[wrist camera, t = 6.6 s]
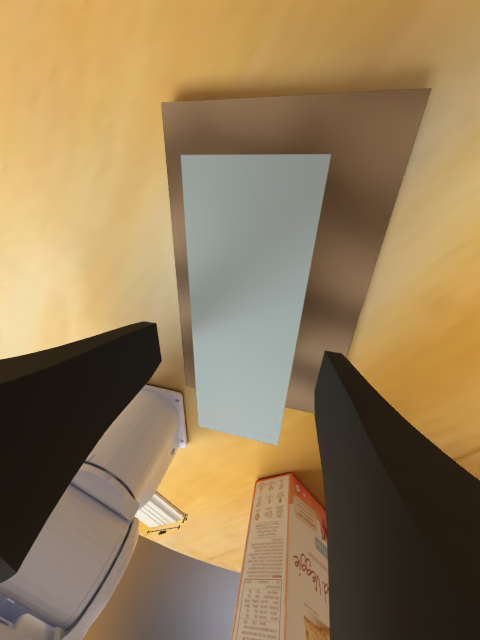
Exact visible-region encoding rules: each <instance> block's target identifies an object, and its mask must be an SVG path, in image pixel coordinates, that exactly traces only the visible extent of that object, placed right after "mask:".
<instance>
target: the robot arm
mask: <svg viewBox="0 0 480 640" xmlns="http://www.w3.org/2000/svg"><path fill="white" fill-rule="evenodd" d="M161 361H162V360H161V353H160V346H159V339H158V332H157V325H156V323H150V322H139V323H135V324H131V325H128V326H124V327H121V328H118V329H115V330H112V331H108V332H105V333H102V334H99V335H96V336H93V337H89V338H86V339H83V340H79V341H76V342H72V343H69V344H66V345H62V346H59V347H55V348H51V349H47V350H43V351H39V352H35V353H30V354H26V355H22V356H17V357H12V358H7V359H2V360H0V640H82V638H83V637H84V635H85V633H86V632H87V630H88V629H89V627H90V626H91V624H92V623H93V622H94V621H95V619H96V618H97V617H98V615H99V614H100V613H101V611H102V610H103V608H104V607H105V605H106V604H107V602H108V601H109V599H110V597H111V595H112V594H113V592H114V590H115V588H116V587H117V585H118V583H119V581H120V579H121V577H122V575H123V574H124V572H125V570H126V567H127V565H128V563H129V561H130V558H131V556H132V554H133V551H134V549H135V546H136V543H137V540H138V535H139V520H138V518H136V517H134V516H135V514H136V513H137V511H138V510H140V509H141V508H142V507H143V506H145V505H146V504H147V503H148V502H149V501H150V499H151V498H152V497H153V495H154V494H155V492H156V490H157V488H158V486H159V484H160V482H161V480H162V478H163V476H164V475H165V473H166V471H167V469H168V467H169V465H170V463H171V461H172V459H173V457H174V455H175V453H176V451H177V449H178V447H181V448H186V446H187V436H186V426H185V416H184V407H183V397H182V394H181V393H180V392H176V391H172V390H167V389H163V388H158V387H154V386H149V385H146V383H147V382H148V381H149V380H150V378H151V377H152V375H153V374H154V372H155V371H156V369H157V368H158V366H159V364H160V363H161ZM314 409H315V422H316V429H317V436H318V443H319V451H320V458H321V465H322V472H323V480H324V490H325V506H326V526H327V552H328V583H329V624H330V640H480V481H479V480H478V479H477V478H476V477H474V476H473V475H472V474H470V473H469V472H468V471H466V470H465V469H464V468H462V467H461V466H460V465H459V464H457V463H456V462H455V461H454V460H452V459H451V458H450V457H449V456H447V455H446V454H445V453H444V452H443V451H441V450H440V449H439V448H438V447H437V446H435V445H434V444H433V443H432V442H431V441H430V440H428V439H427V438H426V437H425V436H424V435H422V434H421V433H420V432H419V431H418V430H417V429H415V428H414V427H413V426H412V425H411V424H410V423H409V422H408V421H407V420H406V419H404V418H403V417H402V416H401V415H400V414H399V413H398V412H397V411H396V410H395V409H394V408H393V407H392V406H391V405H390V404H389V403H388V402H387V401H386V400H385V399H384V398H383V397H382V396H381V395H380V394H379V393H378V392H377V391H376V390H375V389H374V388H373V387H372V386H371V385H370V384H369V383H368V382H367V381H366V379H365V378H364V377H363V376H362V375H361V374H360V373H359V372H358V371H357V370H356V368H355V367H354V366H353V365H352V364H351V363H350V362H349V361H348V359H347V358H346V357H345V356H344V355H343V354H342V353H337V352H331V351H325V352H324V355H323V359H322V363H321V367H320V371H319V375H318V379H317V382H316V386H315V390H314Z"/></svg>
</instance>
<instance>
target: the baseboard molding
mask: <svg viewBox="0 0 480 640" xmlns="http://www.w3.org/2000/svg"><path fill="white" fill-rule="evenodd" d="M186 515H187V514H186ZM186 515H185V516H186ZM187 516H188V515H187ZM135 517H137V518H138V519H139V520H141V521H142V522H143V523H145V524H146V525H147V526H148V527H155V526H160V525H165V524H168V523H169V524H171V523H173V522H174V523H177V521H178V520H179V519H180V518H183V517H184V514H183V513H182V512H181V511H179V510H178V509H177V508H176V507H174V506H173V505H172V504H171V503H169V502H168V501H167V500H166V499H165V498H163V497H162V496H161V495H160V494H158V493H157V492H155V494H154V495H153V497H152V498H151V499H150V501H149V502H148V503H147V504H146V505H145V506H143V507H142V508H141V509H140V510H138V511H137V513H136V514H135ZM184 520H185V521H186V520H187V518H186V519H185V517H184ZM184 520H183V521H184ZM182 523H184V522H182ZM175 528H178V527H175ZM179 528H180V525H179ZM179 528H178V529H179ZM169 529H172V528H169ZM163 530H166V529H163ZM157 531H160V530H157ZM148 532H149V531H148ZM148 532H147V534H148ZM151 532H154V531H151ZM160 532H161V533H160ZM160 532H159V534H163V533H166V531H160Z"/></svg>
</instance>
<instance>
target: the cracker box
mask: <svg viewBox="0 0 480 640" xmlns="http://www.w3.org/2000/svg"><path fill="white" fill-rule="evenodd" d="M230 640H330V624H329V583H328V552H327V526H326V511H325V510H324V508H323V507H322V506H321V505H320V504H319V503H318V502H317V501H316V500H315V499H314V497H313V496H312V495H311V494H310V493H309V492H308V491H307V490H306V489H305V487H304V486H303V485H302V484H301V483H300V482H299V481H298V480H297V479H296V477H295V476H294V475H293V474H292V473H288V474H284V475H279V476H275V477H270V478H266V479H261V480H257V481H256V482H255V488H254V494H253V500H252V507H251V513H250V519H249V526H248V532H247V538H246V545H245V551H244V557H243V564H242V570H241V577H240V583H239V589H238V595H237V602H236V608H235V615H234V621H233V627H232V634H231V639H230Z"/></svg>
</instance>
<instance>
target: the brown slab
mask: <svg viewBox="0 0 480 640" xmlns="http://www.w3.org/2000/svg"><path fill="white" fill-rule="evenodd" d="M430 91H431V88H428V89H409V90H390V91H371V92H352V93H333V94H314V95H295V96H276V97H257V98H238V99H219V100H200V101H181V102H162V103H161V106H162V117H163V129H164V140H165V151H166V163H167V174H168V185H169V197H170V208H171V219H172V231H173V242H174V253H175V265H176V276H177V288H178V299H179V310H180V322H181V333H182V344H183V356H184V367H185V378H186V386H190V387H194V388H196V382H195V367H194V352H193V336H192V321H191V306H190V290H189V275H188V260H187V244H186V229H185V214H184V198H183V183H182V168H181V155H275V154H331V158H330V163H329V169H328V174H327V180H326V185H325V191H324V196H323V201H322V207H321V212H320V218H319V223H318V229H317V234H316V239H315V245H314V250H313V256H312V261H311V266H310V272H309V277H308V283H307V288H306V294H305V299H304V304H303V310H302V315H301V321H300V326H299V332H298V337H297V342H296V348H295V353H294V359H293V364H292V370H291V375H290V380H289V386H288V391H287V397H286V402H285V407H287V408H292V409H296V410H301V411H305V412H310V413H315V409H314V390H315V386H316V382H317V379H318V375H319V371H320V367H321V363H322V359H323V355H324V352H325V351H331V352H337V353H342V354H343V355H344V356H345V357H346V356H347V352H348V349H349V346H350V343H351V340H352V337H353V333H354V330H355V327H356V324H357V321H358V318H359V315H360V311H361V308H362V305H363V302H364V299H365V296H366V293H367V289H368V286H369V283H370V280H371V277H372V274H373V271H374V267H375V264H376V261H377V258H378V255H379V252H380V249H381V245H382V242H383V239H384V236H385V233H386V230H387V226H388V223H389V220H390V217H391V214H392V211H393V208H394V204H395V201H396V198H397V195H398V192H399V189H400V186H401V182H402V179H403V176H404V173H405V170H406V167H407V164H408V160H409V157H410V154H411V151H412V148H413V145H414V142H415V138H416V135H417V132H418V129H419V126H420V123H421V119H422V116H423V113H424V110H425V107H426V104H427V101H428V97H429V94H430Z"/></svg>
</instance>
